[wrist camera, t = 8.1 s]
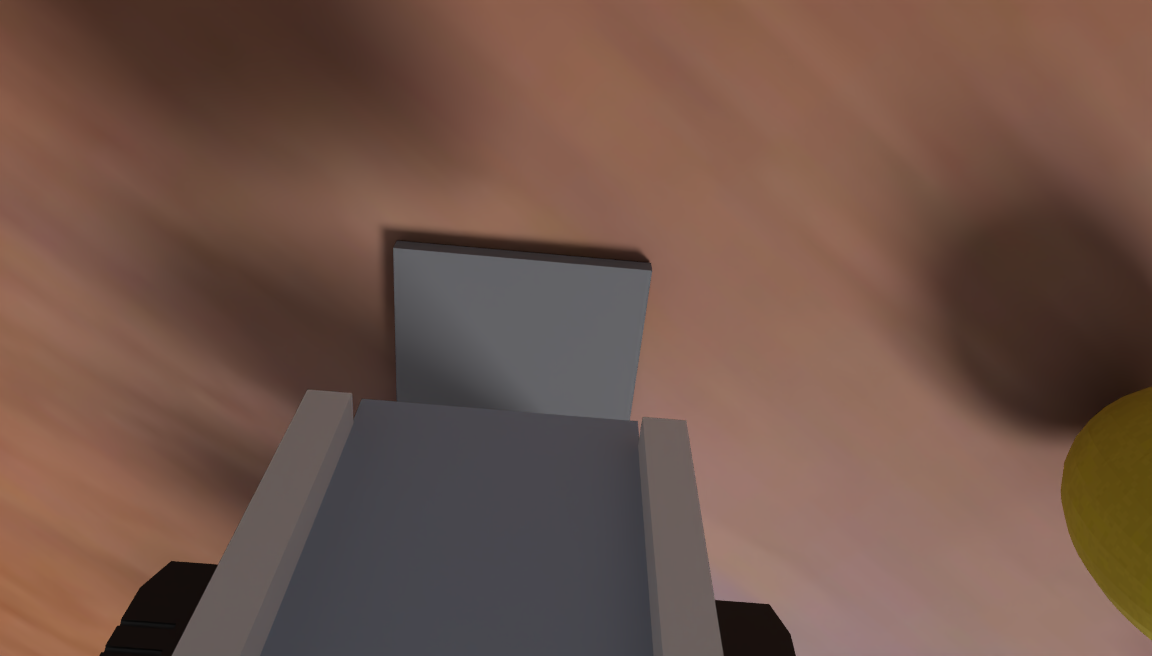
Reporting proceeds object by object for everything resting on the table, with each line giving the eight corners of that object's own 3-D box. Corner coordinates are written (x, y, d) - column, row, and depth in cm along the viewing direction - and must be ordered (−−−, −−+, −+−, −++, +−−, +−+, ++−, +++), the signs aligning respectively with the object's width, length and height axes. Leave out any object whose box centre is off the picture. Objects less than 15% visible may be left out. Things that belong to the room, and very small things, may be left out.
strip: (396, 240, 20) (393, 247, 20) (650, 262, 20) (651, 270, 20) (408, 848, 33) (406, 859, 33) (562, 858, 33) (562, 869, 33)
